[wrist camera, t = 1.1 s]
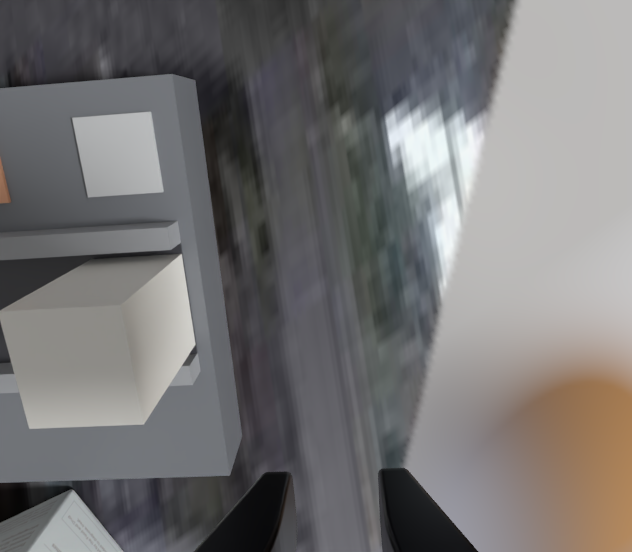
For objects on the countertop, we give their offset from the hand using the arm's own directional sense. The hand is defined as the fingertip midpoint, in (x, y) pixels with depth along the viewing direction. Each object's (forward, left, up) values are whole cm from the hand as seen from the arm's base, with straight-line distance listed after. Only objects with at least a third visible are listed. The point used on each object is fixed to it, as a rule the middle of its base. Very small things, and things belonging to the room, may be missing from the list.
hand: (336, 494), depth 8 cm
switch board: (0, +9, -12) cm, 15 cm away
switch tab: (0, +7, -9) cm, 11 cm away
